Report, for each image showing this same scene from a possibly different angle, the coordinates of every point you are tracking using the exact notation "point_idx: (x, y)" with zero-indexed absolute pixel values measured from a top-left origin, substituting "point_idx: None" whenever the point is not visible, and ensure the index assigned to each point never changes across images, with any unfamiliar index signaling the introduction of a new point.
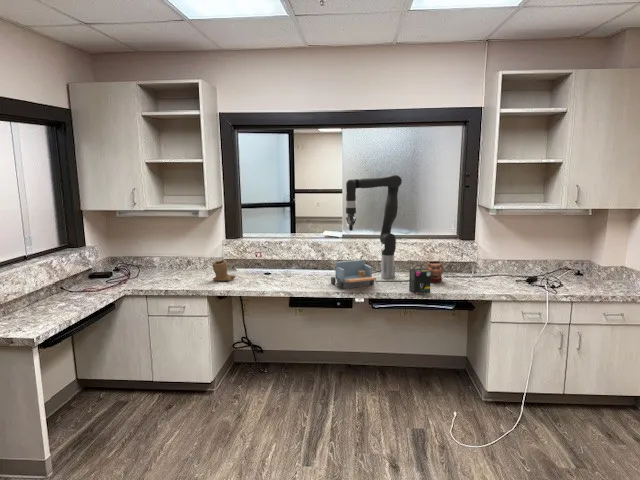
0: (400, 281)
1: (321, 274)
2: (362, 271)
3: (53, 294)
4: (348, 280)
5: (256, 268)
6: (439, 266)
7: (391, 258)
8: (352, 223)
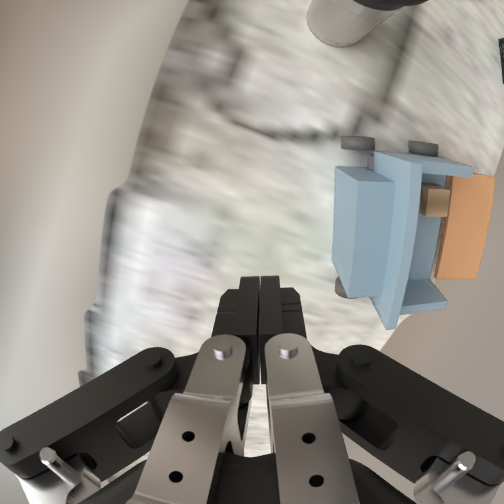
0: (411, 22)
1: (188, 275)
2: (445, 202)
3: None
4: (459, 278)
5: None
6: None
7: None
8: (368, 404)
